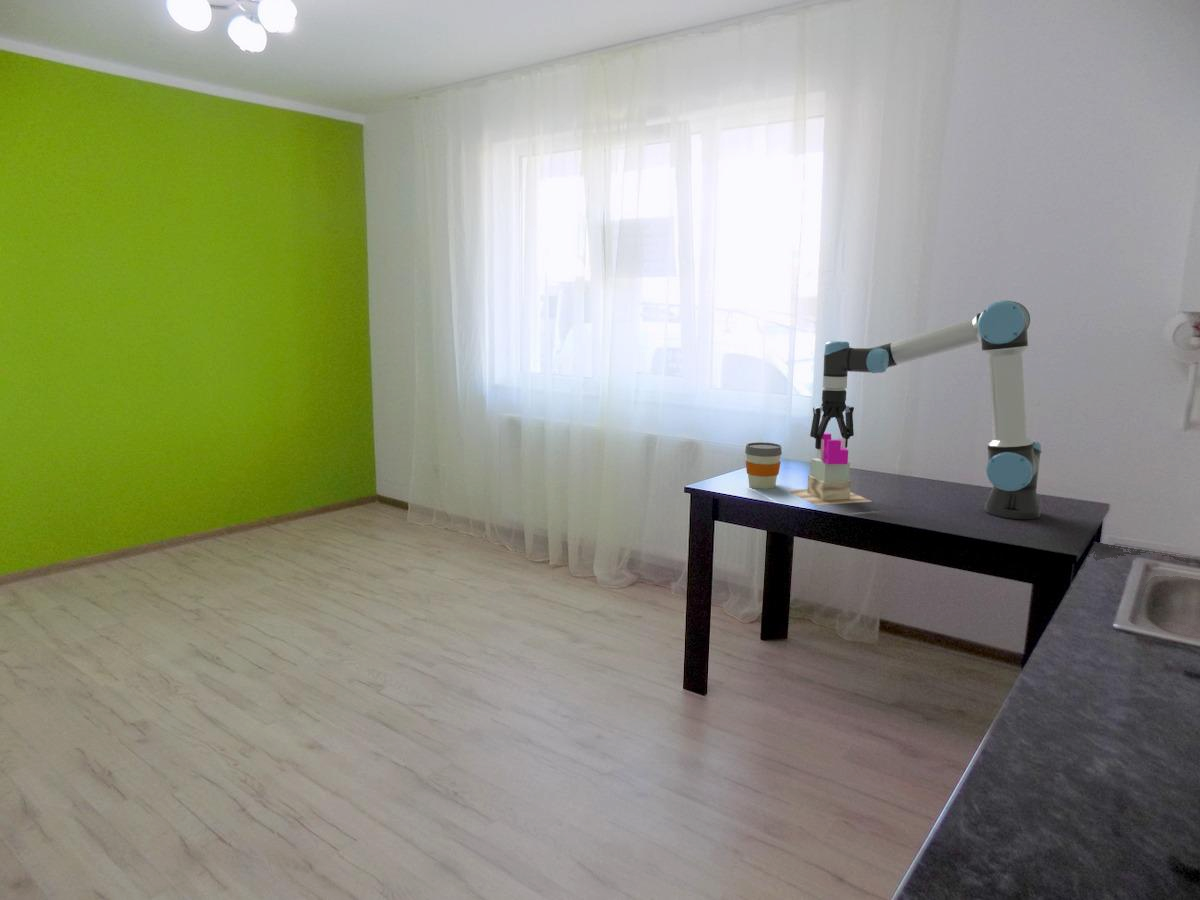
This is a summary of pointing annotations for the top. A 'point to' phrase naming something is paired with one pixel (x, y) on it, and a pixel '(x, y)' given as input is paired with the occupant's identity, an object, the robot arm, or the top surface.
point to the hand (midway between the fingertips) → (830, 457)
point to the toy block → (834, 451)
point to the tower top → (829, 471)
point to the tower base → (829, 489)
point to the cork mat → (817, 501)
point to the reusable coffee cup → (762, 464)
